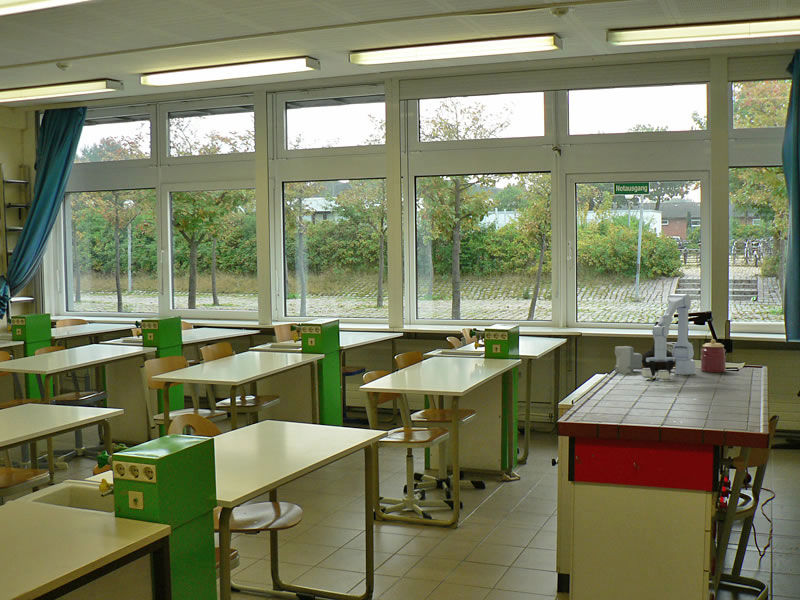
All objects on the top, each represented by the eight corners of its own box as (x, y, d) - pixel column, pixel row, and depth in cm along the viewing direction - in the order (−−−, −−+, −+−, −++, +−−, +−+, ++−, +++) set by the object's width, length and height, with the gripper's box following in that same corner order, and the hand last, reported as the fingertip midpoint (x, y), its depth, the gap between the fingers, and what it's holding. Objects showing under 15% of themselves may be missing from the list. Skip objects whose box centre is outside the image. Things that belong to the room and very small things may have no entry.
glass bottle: (635, 371, 453) (634, 321, 452) (659, 369, 461) (659, 319, 460) (657, 375, 437) (657, 323, 436) (682, 372, 445) (682, 321, 444)
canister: (701, 372, 445) (701, 340, 444) (699, 369, 457) (699, 338, 457) (726, 373, 441) (726, 340, 440) (724, 369, 454) (724, 338, 453)
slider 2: (665, 377, 416) (665, 369, 416) (668, 378, 412) (668, 370, 412) (658, 377, 416) (658, 370, 416) (661, 378, 412) (661, 371, 412)
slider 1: (649, 375, 425) (649, 367, 425) (652, 376, 421) (652, 368, 421) (642, 375, 424) (642, 368, 424) (645, 376, 420) (645, 369, 420)
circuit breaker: (644, 375, 437) (644, 347, 437) (618, 375, 438) (618, 347, 437) (641, 373, 445) (640, 346, 444) (614, 373, 445) (614, 346, 445)
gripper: (650, 350, 409) (650, 377, 409) (677, 349, 410) (677, 376, 411) (644, 348, 416) (644, 375, 416) (671, 348, 417) (671, 374, 418)
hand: (660, 375), depth 414 cm, fingers open, 7 cm apart
